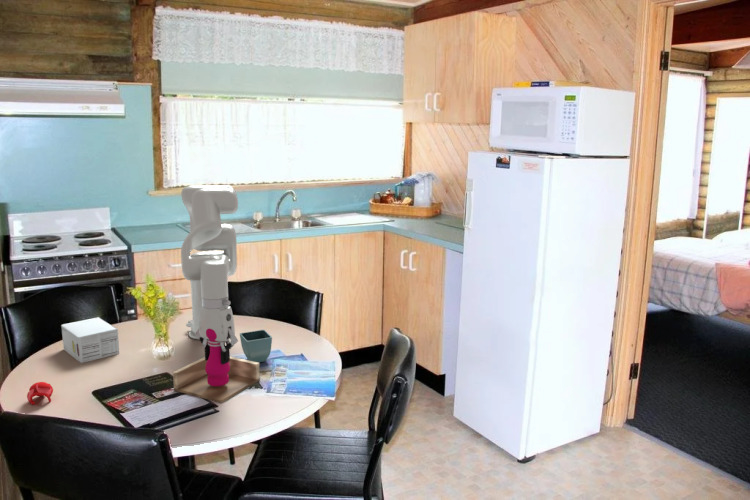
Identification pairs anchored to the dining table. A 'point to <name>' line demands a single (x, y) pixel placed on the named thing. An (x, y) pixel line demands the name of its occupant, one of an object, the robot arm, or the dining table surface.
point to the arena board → (217, 388)
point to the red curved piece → (39, 391)
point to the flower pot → (256, 345)
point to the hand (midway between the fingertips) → (217, 360)
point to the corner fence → (198, 370)
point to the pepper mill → (216, 362)
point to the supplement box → (90, 339)
